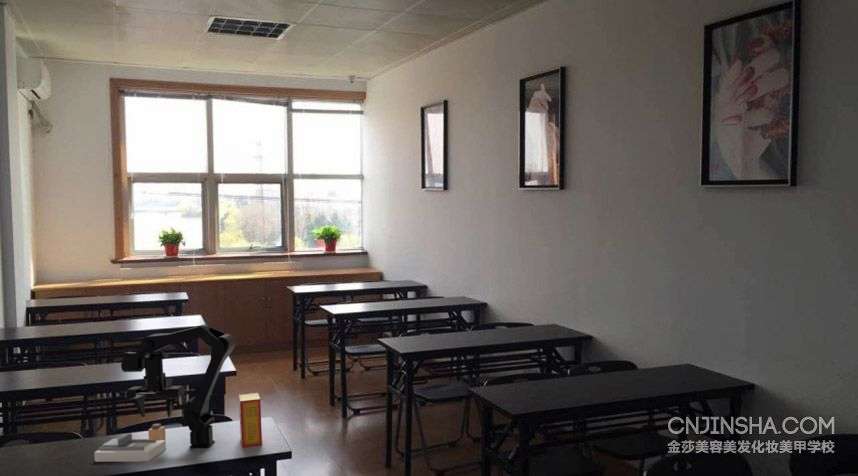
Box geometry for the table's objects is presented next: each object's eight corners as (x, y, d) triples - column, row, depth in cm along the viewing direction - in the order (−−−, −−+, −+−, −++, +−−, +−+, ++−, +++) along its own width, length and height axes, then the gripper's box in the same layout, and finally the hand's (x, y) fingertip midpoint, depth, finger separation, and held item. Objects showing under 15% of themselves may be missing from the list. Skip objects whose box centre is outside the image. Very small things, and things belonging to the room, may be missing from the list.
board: (166, 449, 237) (165, 437, 237) (148, 461, 225) (147, 449, 225) (115, 449, 238) (114, 437, 238) (94, 461, 226) (94, 449, 226)
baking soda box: (240, 439, 244) (238, 393, 244) (259, 437, 246) (257, 391, 246) (242, 447, 235) (240, 400, 235) (262, 445, 237) (260, 398, 237)
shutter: (132, 442, 235) (131, 433, 235) (121, 448, 228) (121, 439, 228) (113, 442, 235) (113, 433, 235) (102, 448, 229) (102, 439, 229)
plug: (165, 443, 243) (164, 422, 243) (160, 447, 239) (159, 426, 239) (154, 443, 243) (153, 422, 243) (149, 447, 239) (148, 426, 239)
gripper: (190, 366, 247) (192, 410, 248) (140, 367, 249) (142, 410, 250) (176, 373, 236) (178, 419, 237) (123, 374, 238) (125, 419, 239)
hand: (156, 416), depth 241 cm, fingers open, 9 cm apart
